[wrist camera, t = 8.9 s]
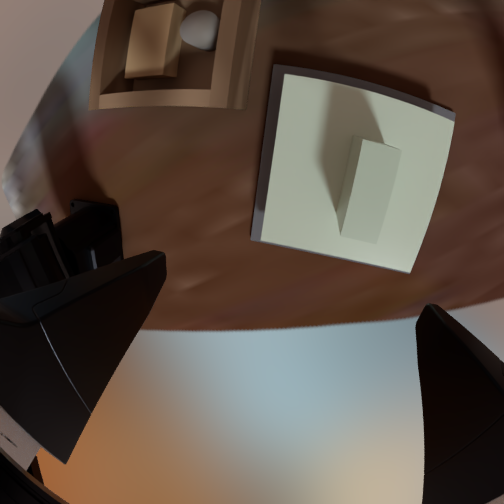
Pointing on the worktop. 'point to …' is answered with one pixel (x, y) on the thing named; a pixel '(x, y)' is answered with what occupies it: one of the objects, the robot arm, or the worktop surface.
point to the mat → (273, 122)
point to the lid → (354, 173)
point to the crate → (174, 53)
